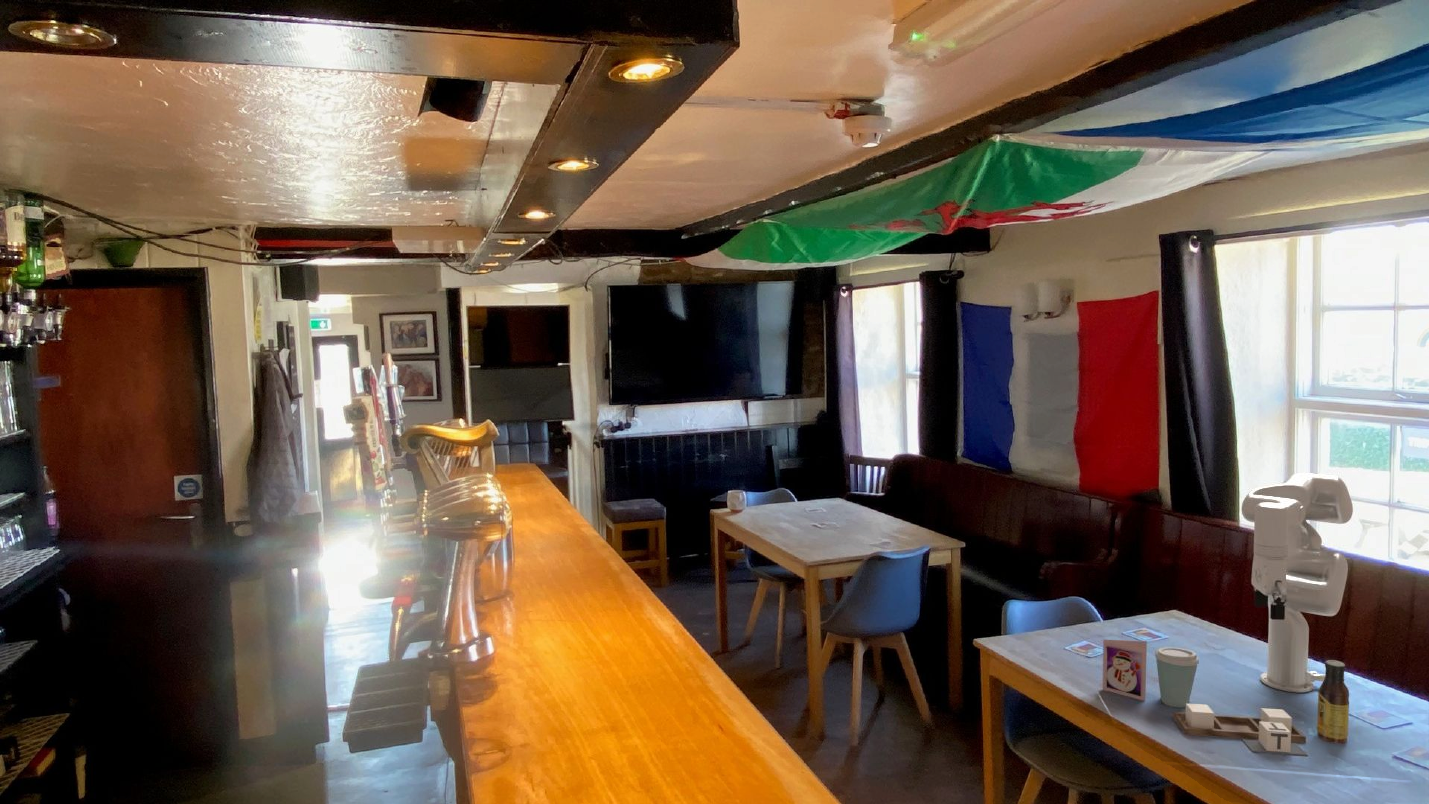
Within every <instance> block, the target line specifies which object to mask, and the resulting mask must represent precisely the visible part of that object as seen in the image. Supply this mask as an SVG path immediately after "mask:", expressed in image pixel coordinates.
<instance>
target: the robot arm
mask: <svg viewBox="0 0 1429 804" xmlns="http://www.w3.org/2000/svg"><path fill="white" fill-rule="evenodd" d="M1353 506H1354V505H1353V503H1352V499H1351V495H1350V492H1349V490H1348V487H1347V485H1346V483H1345V481H1343V479H1341V478H1340V477H1338V476H1336V475H1332V474H1331V475H1328V474H1315V473H1307V472H1301V473H1300V472H1299V473H1298V472H1297V473H1294V474H1292V475H1290V476H1289V477H1288V478H1287V479H1286V480H1285V481H1283V483H1281V484H1274V485H1269V486H1263V487H1258V488H1255V489H1253V490H1251V491H1249V493H1247V495H1246V496H1245V497H1244V499H1243V501H1242V503H1241V514H1242V517H1243V518H1244V519H1245V520H1246V521H1247V522H1249V523H1253V524H1254V525H1253V526H1254V529H1253V531H1254V533H1253V559H1252V566H1251V567H1252V568H1251V585H1252V586H1253V590H1254V596H1253V597H1254V598H1253V599H1254V600H1253V601H1254V603H1253V604H1254V606H1255V607H1263V608H1264V607H1268V641H1267V664H1266V665H1267V666H1266V668H1267V670H1266V672H1262V673H1261V674H1260V681H1261V682H1262V683H1264V685H1267V686H1268V687H1271V688H1273V689H1276V690H1280V691H1285V692H1291V693H1308V692H1311V691H1313V689H1314V684H1313V682H1315V681H1317V682H1323V681H1324V679H1325V674H1322V673H1321V674H1320V673H1317V671H1310V670H1308V658H1309V638H1310V637H1309V634H1310V628H1309V624H1308V622H1307V619H1306V618H1305V617H1304V615H1303V614H1302V613H1308V614H1313V615H1319V616H1326V617H1334V616H1336V615H1337V614H1338V612H1339V611H1340V608H1341V605H1342V602H1343V597H1344V592H1345V588H1346V582H1347V579H1348V573H1349V572H1348V571H1349V570H1348V569H1349V566H1348V561H1347V558H1346V557H1345V555H1343V554H1341V552H1337V551H1333V550H1326V549H1321V546H1322V542H1323V541H1322V537H1321V535H1320V534H1319V532H1318V531H1317V530H1316V529H1315V528H1314V527H1313V526H1312V524H1310V523H1309V522H1308V521H1313V522H1320V523H1328V524H1329V523H1330V524H1338V525H1341V524H1347V523H1348V522H1349V521H1350V520H1351V519H1352V516H1353V512H1354V510H1353V509H1354V507H1353Z"/></svg>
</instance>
